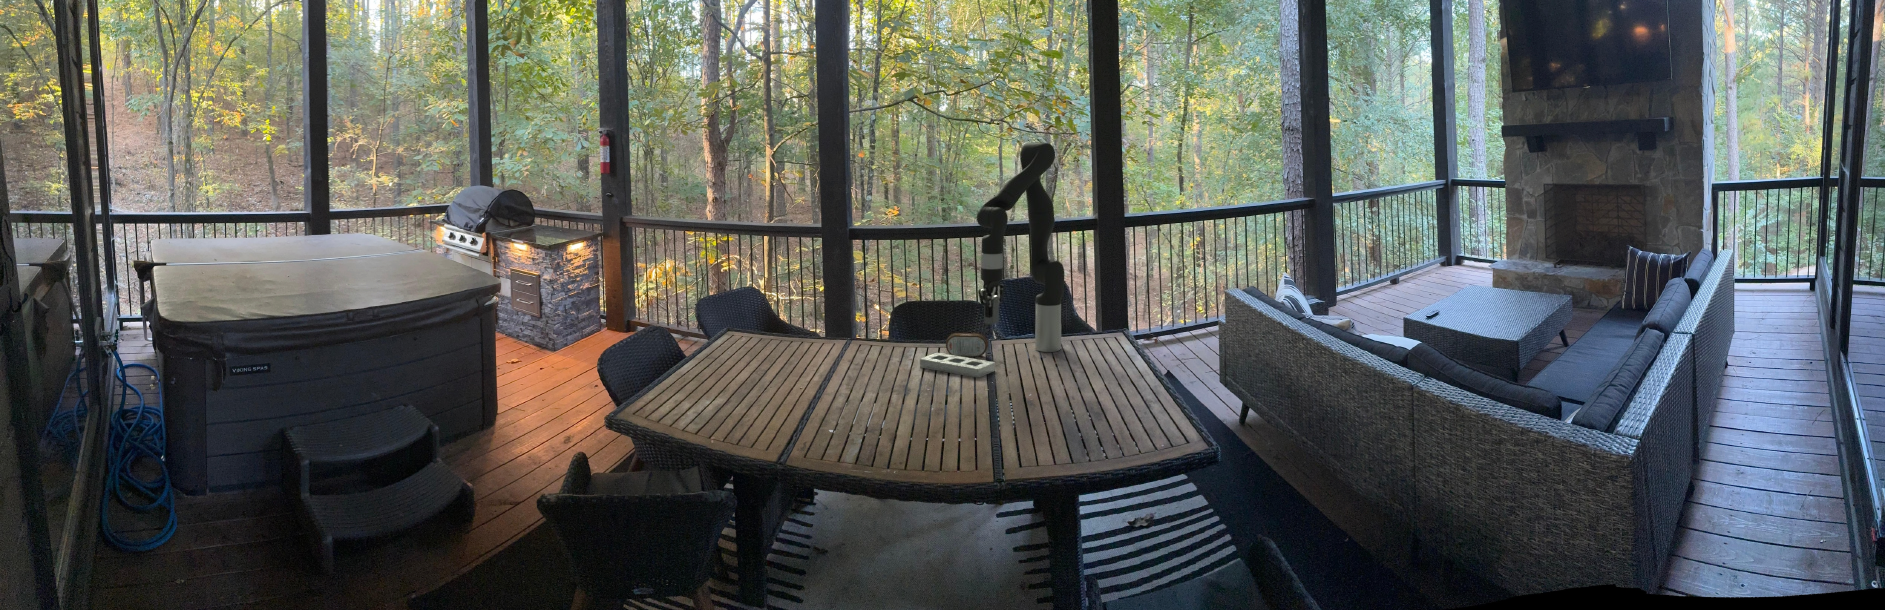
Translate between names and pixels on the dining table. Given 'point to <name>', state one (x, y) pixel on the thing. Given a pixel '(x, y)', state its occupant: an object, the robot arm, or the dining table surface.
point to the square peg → (993, 312)
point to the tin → (966, 344)
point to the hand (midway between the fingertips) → (991, 316)
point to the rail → (957, 365)
